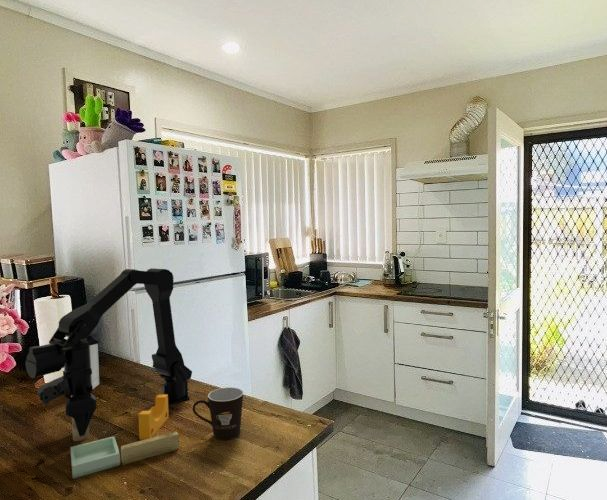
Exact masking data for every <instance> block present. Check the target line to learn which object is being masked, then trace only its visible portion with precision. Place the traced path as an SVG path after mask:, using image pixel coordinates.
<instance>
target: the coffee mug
mask: <svg viewBox="0 0 607 500" xmlns="http://www.w3.org/2000/svg"><path fill="white" fill-rule="evenodd" d="M207 400H208V401H207ZM207 400H204V399H203V400H202V399H199V400H197V401H195V402H194V403H193V405H192V412H193V414H195V416H196V417H197V418H199V419H200V420H202V421H204V422H206V423H208V424H209V425H210V426H211V427H212V433H213V437H214V438H215V439H216V440H219V441H229V440H233V439H236V438H237V437H239V436H240V434H241V426H242V425H241V424H242V416H243V415H242V412H243V401H244V391H243V390H242V388H241V389H240V388H239V387H230V386H229V387H219V388H216V389H214V390H212V391H210V392H209V393H208V395H207ZM198 404H204V405H206V407H207V408H208V409H209V413H210V420H209V419H207V418H205V417H203V416H202V415H200V414H199V413H198V412H197V411H196V406H197V405H198Z"/></svg>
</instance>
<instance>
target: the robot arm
mask: <svg viewBox="0 0 607 500" xmlns="http://www.w3.org/2000/svg"><path fill="white" fill-rule="evenodd" d="M137 284H140V285H143V286H144V289H145V292H146V293H147V295H148V296H149V298H150V300H151V302H152V310H153V318H154V324H155V333H156V341H157V349H156V353H153V354H151V360H152V368H153V369H154V370H155V372H156V373H158V375H159V376H160V378H161V379H163V383H162V385H161V387H162V394H168V405H170V404H174V403H178V402H183V401H188V400H190V399H191V397H190V396H189V386H188V385H189V383H188V380H190V379H191V378H192V374H193V371H192V369H190V368H189V367H187V366H186V365H185V361H184V358H183V354H182V352H181V351H180V350H179V348H178V346H177V345H176V338H175V329H174V322H173V314H172V308H171V307H172V305H171V295H172V293H173V290H174V275H173V272H171V271H170V270H169V269H167V268H155V267H154V268H153V267H151V268H148V269H147V270H138V269H137V268H125V269H123V271H121V273H120V274H119V275H118V276H117V277H116V278H114V280H112V281H111V282H110V283H109V284H107V286H105V287H104V288H103V289H102V290H101V291H99V293H98V294H96V295H95V296H94V297H93V298H92V299H90V301H88V302H87V303H85V304H84V305H81V306H79V307H76V308H75V309H73V310H71V311H69V312H67V313H66V314H64V315H63V316H62V317H61V318H60V319H59V321H58V328H57V329H56V330H55V332H54V333H53V335H52V336H51V338H50V340H49V341H48V344H43V345H35V346H30V347H29V348H28V350H29V351H28V354H27V355H26V360H25V368H26V369H25V370H26V372H27V374H28V376H29V377H30V378H31V379H35V378H39V377H42V376H47V375H49V374H53V373H57V372H60V371H61V370H62V369H63V370H62V375H61V376H59V377H58V378H57V377H56V378H55V379H53V380H51V381H49V382H47V383H44V384H42V385H41V386H39V387H38V388H37V391H36V392H37V395H38V397H39V401H41V403H42V404H43V405H47V404H50V403H51V401H53V400H55V399H57V398H59V397H61V396H63V395H64V398H66V400H65V401H64V403H65V406H64V407H65V415H66V416H67V417H68V418H69V417H70V418H71V419H72V418H74V420H75V423H76V426H77V430H78V433H79V436H84V435H85V433H86V430H87V428H88V425H90V422H91V420H92V418H93V416H94V413H95V411H96V410H97V408H98V407H97V399H96V395H94V394H92V392H93V390H94V389H93V386H92V378H91V374H92V369H91V358H90V345H95V344H99V343H100V341H99V340H97V339H96V338H94V336H93V335H92V333H93V332H94V330H95V329H96V328H97V326H99V325H100V324H99V323H100V321H101V318H102V317H103V316H104V314H105V313H106V312H107V311H108V310H110V309H111V308H112V307H113V306H114V305H115V304H116V303H117V302H118V301H119V300H121V299H122V297H124V296H125V295H126V294H127V293H128V292H129V291H130V290H131V289H133V287H135V286H136V285H137ZM66 337H67V338H66Z"/></svg>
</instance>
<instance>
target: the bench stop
mask: <svg viewBox="0 0 607 500" xmlns="http://www.w3.org/2000/svg"><path fill="white" fill-rule="evenodd" d="M179 442H180V441H179V433H178V432H177V431H173V432H169V433H165V434H161V435H157V436H153V437H152V438H149V439H146V440H139V441H134V442H131V443H127V444H124V445H121V446H120V450H121V451H120V454H121V455H120V456H121V463H122V465H123V466H124V465H127V464H131V463H134V462H138V461H141V460H144V459H148V458H151V457H155V456H158V455H163V454H166V453H169V452H173V451H176V450H179V449H180V446H179Z"/></svg>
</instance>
